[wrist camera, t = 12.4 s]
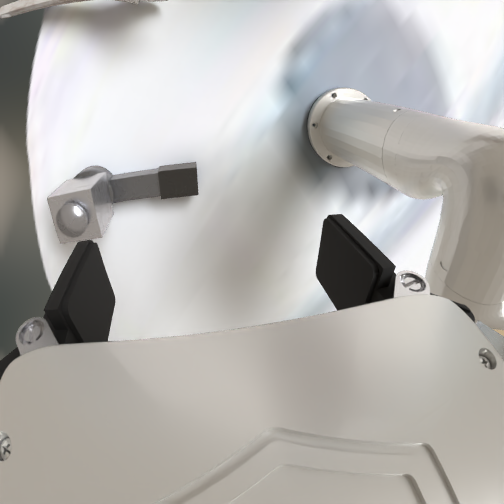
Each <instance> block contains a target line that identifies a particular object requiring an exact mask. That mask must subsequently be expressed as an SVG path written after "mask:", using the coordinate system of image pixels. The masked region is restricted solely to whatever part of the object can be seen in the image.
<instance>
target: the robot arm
mask: <svg viewBox="0 0 504 504" xmlns="http://www.w3.org/2000/svg"><path fill="white" fill-rule="evenodd" d="M331 95H333V96H331ZM313 123H314V126H312V124H313ZM307 128H308V136H309V140H310V143H311V145H312V147H313V149H314V150H315V152H316V153H317V154H318V155H319V156H320V157H321V158H322V159H323V160H325V161H326V162H328V163H330V164H332V165H334V166H338V167H351V166H357V167H358V168H360V169H362V170H364V171H366V172H367V173H369V174H371V175H373V176H374V177H376V178H378V179H380V180H381V181H383V182H385V183H386V184H388V185H390V186H391V187H393V188H395V189H396V190H398V191H400V192H401V193H403V194H405V195H407V196H409V197H411V198H415V199H422V200H424V199H432V198H436V197H439V196H442V195H443V204H442V210H441V217H440V222H439V226H438V230H437V233H436V237H435V241H434V244H433V248H432V251H431V255H430V258H429V262H428V266H427V270H426V276H425V278H424V277H423V276H421V275H419V274H418V273H415V272H412V271H401V272H399V273H398V274H397V275H396V274H395V273H394V270H395V267H396V266H395V265H394V264H393V263H392V262H391V261H390V260H389V259H388V258H387V257H386V256H385V255H384V254H383V253H382V252H381V251H380V250H379V249H378V248H377V247H376V246H375V245H374V244H373V243H372V242H371V241H370V240H369V239H368V238H367V237H366V236H365V235H364V234H363V233H362V232H360V231H359V230H358V229H357V228H356V227H355V226H354V225H353V224H352V223H351V222H350V221H349V220H348V219H347V218H345V217H344V216H343V215H342V214H337V215H329V216H328V217H327V219H324V222H323V228H322V235H321V242H320V248H319V254H318V260H317V266H316V276H317V279H318V280H319V282H320V284H321V285H322V287H323V288H324V290H325V291H326V293H327V295H328V296H329V298H330V299H331V301H332V303H333V304H334V306H335V307H336V309H337V311H333V312H328V313H323V314H318V315H313V316H308V317H303V318H298V319H292V320H287V321H281V322H276V323H270V324H264V325H258V326H251V327H245V328H238V329H231V330H224V331H217V332H209V333H200V334H192V335H183V336H173V337H162V338H151V339H139V340H125V341H108V336H109V331H110V326H111V321H112V316H113V311H114V306H115V295H114V292H113V290H112V287H111V284H110V281H109V278H108V276H107V273H106V270H105V267H104V264H103V260H102V257H101V254H100V251H99V248H98V245H97V243H93V241H92V240H87V241H80V242H78V243H77V245H76V247H75V248H74V250H73V252H72V254H71V256H70V257H69V259H68V261H67V263H66V265H65V267H64V269H63V271H62V273H61V275H60V277H59V279H58V281H57V283H56V285H55V287H54V289H53V291H52V293H51V295H50V297H49V300H48V302H47V304H46V306H45V309H44V311H45V315H44V318H42V317H34V318H31V319H29V320H27V321H26V322H24V323H23V324H22V326H21V327H20V328H19V330H18V332H17V334H16V343H17V346H18V347H17V348H16V349H14V350H13V351H12V352H11V353H9V354H8V355H7V356H6V357H4V358H3V359H2V360H1V361H0V504H504V337H503V336H502V335H500V334H499V333H497V332H496V331H494V330H493V329H498V330H504V128H501V127H496V126H491V125H485V124H479V123H473V122H467V121H462V120H457V119H452V118H448V117H444V116H439V115H435V114H431V113H427V112H423V111H419V110H415V109H410V108H406V107H401V106H396V105H391V104H386V103H380V102H375V101H371V100H370V99H369V98H368V97H367V96H366V95H365V94H364V93H362V92H360V91H358V90H355V89H352V88H335V89H332V90H329V91H327V92H325V93H324V94H323V95H321V96H320V97H319V98H318V99H317V101H316V102H315V103H314V105H313V107H312V109H311V110H310V114H309V117H308V125H307ZM327 156H328V157H327Z"/></svg>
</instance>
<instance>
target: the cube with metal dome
mask: <svg viewBox="0 0 504 504" xmlns="http://www.w3.org/2000/svg"><path fill="white" fill-rule="evenodd" d="M47 200H48V204H49V208H50V211H51V215H52V218H53V222H54V225H55V228H56V231H57V235H58V238H59V241H60V244H61V243H67V242H74V241H81V240H87V239H94V238H101V237H103V235H104V233H105V231H106V229H107V227H108V225H109V223H110V221H111V219H112V217H113V215H114V212H113V207H112V202H111V197H110V192H109V187H108V181H107V175H106V172H103V173H98V174H92V175H88V176H83V177H78V178H73V179H69V180H66V181H65V182H64V183H63V184H62V185H61V186H60V187H58V188H57V189H56V190H55V191H54V192H53V193H52V194H51V195H50V196H49V197H48V198H47Z"/></svg>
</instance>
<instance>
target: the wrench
mask: <svg viewBox="0 0 504 504" xmlns="http://www.w3.org/2000/svg"><path fill="white" fill-rule="evenodd" d="M81 1H91V0H20V1H16V2H13V3H10V4H8V5H5V6H2V7H1V8H0V18H10V17H13V16H16V15H19V14H22V13H26V12H30V11H33V10H37V9H42V8H46V7H51V6H56V5H62V4H68V3H74V2H81ZM117 1H125V2H130V3H133V4H137V5H138V3H139V1H148V2H155V1H168V0H117Z"/></svg>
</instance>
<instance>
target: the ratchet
mask: <svg viewBox="0 0 504 504" xmlns="http://www.w3.org/2000/svg"><path fill="white" fill-rule="evenodd" d="M103 172H106V175H107V181H108V187H109V192H110V197H111V202H112V205H113V203H114V202H120V201H127V200H134V199H141V198H148V197H156V196H161V199H166V198H174V197H183V196H192V195H198V182H197V167H196V162H193V163H183V164H174V165H165V166H160V167H159V168H158V169H151V170H143V171H137V172H130V173H124V174H118V175H112V173H111V172H110V171H108V170H107V169H105V168H103V167H100V166H90V167H87V168H85V169H84V170H83V171H81V172H80V173H79V174H78V175H77V176H76V177H74V178H78V177H83V176H88V175H92V174H98V173H103Z"/></svg>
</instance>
